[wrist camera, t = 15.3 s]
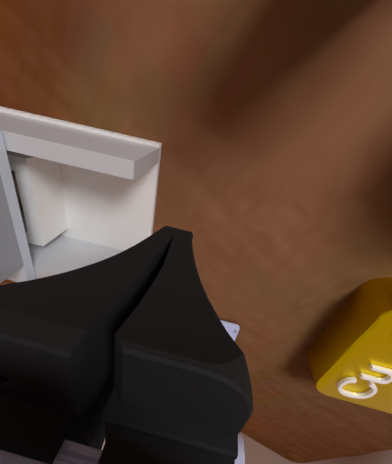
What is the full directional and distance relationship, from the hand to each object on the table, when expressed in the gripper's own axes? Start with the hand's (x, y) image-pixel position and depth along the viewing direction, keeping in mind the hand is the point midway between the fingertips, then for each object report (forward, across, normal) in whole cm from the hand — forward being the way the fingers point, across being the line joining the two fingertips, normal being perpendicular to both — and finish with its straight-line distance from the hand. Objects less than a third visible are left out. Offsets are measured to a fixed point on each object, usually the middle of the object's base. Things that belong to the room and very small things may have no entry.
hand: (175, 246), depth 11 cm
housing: (+10, +13, +4) cm, 17 cm away
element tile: (+11, -25, +12) cm, 30 cm away
